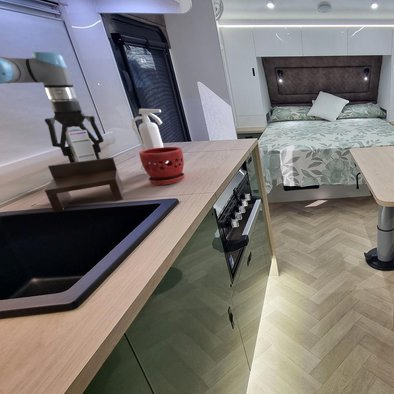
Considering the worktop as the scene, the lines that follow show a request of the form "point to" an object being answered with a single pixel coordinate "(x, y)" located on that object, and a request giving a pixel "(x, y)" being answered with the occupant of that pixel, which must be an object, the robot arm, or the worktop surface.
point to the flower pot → (163, 164)
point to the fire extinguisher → (148, 130)
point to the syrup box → (80, 145)
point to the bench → (82, 180)
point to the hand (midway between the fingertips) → (86, 162)
